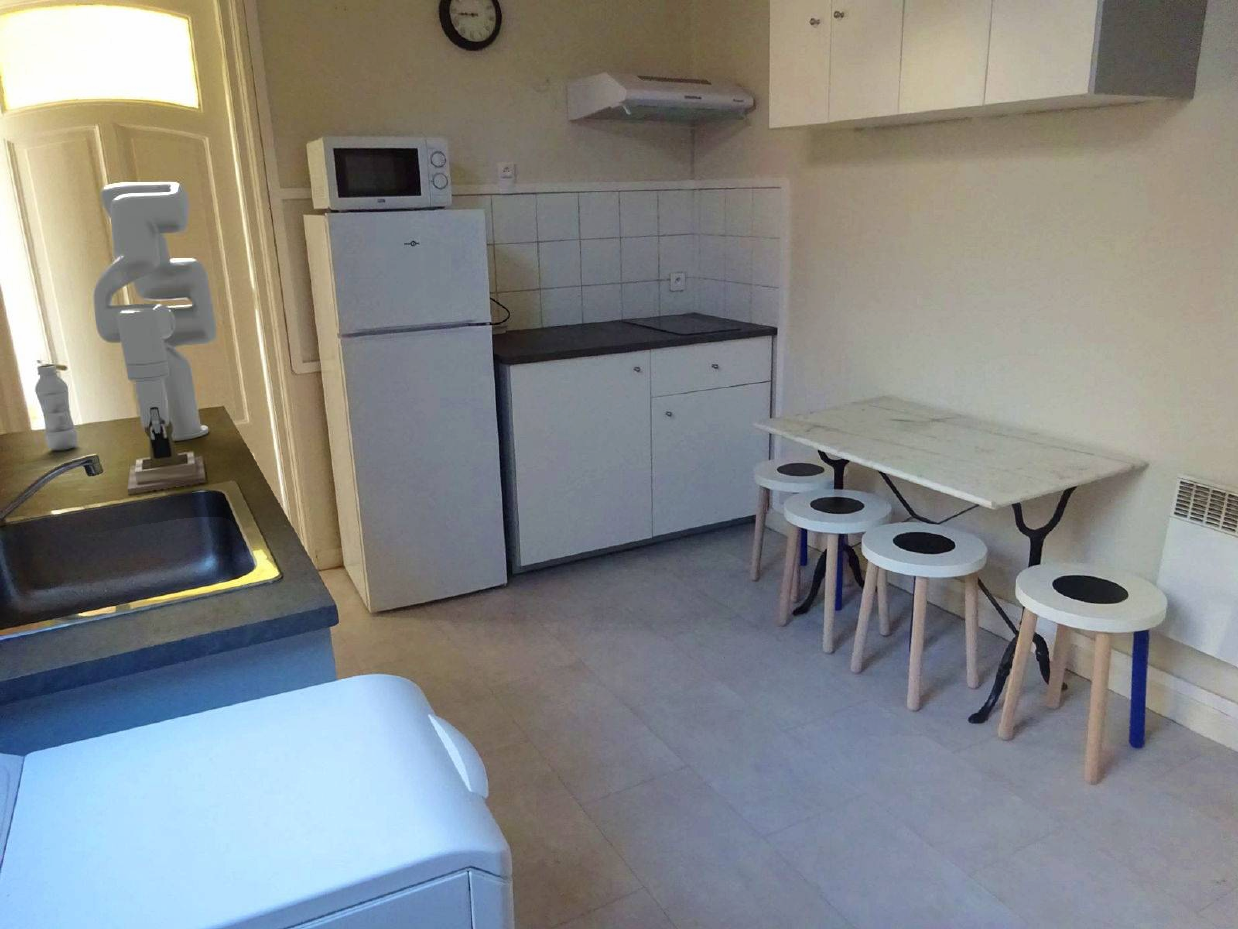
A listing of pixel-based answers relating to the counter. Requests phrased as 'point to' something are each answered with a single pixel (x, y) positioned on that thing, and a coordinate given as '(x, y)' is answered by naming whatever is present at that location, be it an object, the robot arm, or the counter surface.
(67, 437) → the plastic bottle
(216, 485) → the counter surface
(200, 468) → the socket board
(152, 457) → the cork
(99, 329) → the robot arm
